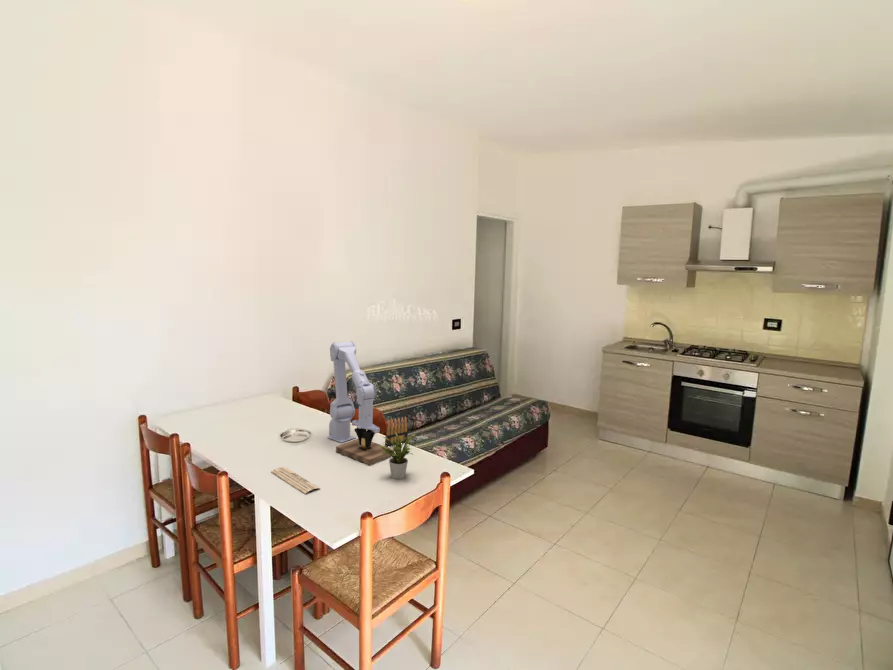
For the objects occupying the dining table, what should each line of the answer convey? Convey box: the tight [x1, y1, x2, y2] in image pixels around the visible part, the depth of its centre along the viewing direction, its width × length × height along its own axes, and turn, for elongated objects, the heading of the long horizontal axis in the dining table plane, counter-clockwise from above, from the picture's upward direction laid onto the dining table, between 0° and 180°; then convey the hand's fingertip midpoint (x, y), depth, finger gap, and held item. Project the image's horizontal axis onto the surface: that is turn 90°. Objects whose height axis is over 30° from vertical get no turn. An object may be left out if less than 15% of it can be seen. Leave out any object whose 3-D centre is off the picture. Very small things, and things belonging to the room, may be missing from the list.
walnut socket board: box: [335, 438, 395, 466], centre depth 204 cm, size 20×14×2 cm
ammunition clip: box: [384, 416, 409, 448], centre depth 215 cm, size 11×2×12 cm, turn 127°
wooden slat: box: [270, 466, 321, 495], centre depth 178 cm, size 24×7×2 cm, turn 47°
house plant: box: [379, 433, 416, 480], centre depth 185 cm, size 14×14×16 cm
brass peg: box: [361, 436, 368, 451], centre depth 203 cm, size 3×3×6 cm
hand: (365, 445), depth 203 cm, fingers closed on brass peg, 3 cm apart
